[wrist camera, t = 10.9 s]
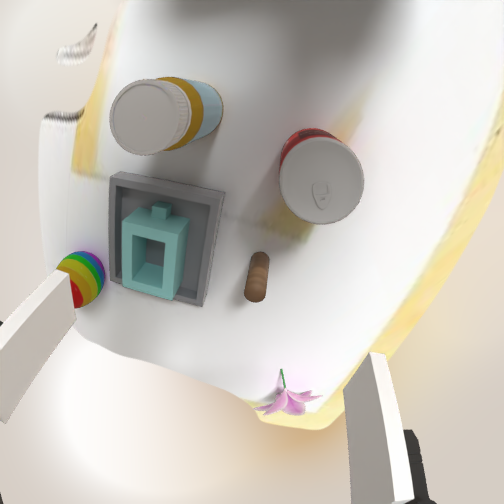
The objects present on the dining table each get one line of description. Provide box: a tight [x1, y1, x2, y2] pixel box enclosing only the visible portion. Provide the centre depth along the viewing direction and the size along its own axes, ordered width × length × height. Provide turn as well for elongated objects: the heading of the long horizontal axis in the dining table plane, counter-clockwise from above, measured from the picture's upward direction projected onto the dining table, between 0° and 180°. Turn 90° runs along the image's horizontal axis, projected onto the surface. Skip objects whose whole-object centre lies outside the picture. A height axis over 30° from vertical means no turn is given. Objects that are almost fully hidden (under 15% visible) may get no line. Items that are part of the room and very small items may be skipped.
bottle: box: [110, 77, 223, 156], centre depth 27 cm, size 7×7×15 cm
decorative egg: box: [56, 251, 105, 308], centre depth 42 cm, size 8×8×10 cm
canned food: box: [279, 128, 364, 224], centre depth 30 cm, size 8×8×11 cm
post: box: [244, 252, 269, 302], centre depth 39 cm, size 2×2×8 cm
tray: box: [109, 172, 225, 307], centre depth 41 cm, size 16×15×3 cm
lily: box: [253, 369, 323, 415], centre depth 51 cm, size 12×12×10 cm
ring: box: [122, 201, 190, 300], centre depth 39 cm, size 8×12×5 cm, turn 168°
